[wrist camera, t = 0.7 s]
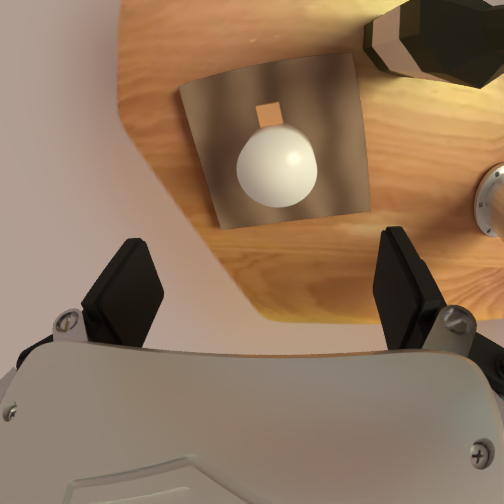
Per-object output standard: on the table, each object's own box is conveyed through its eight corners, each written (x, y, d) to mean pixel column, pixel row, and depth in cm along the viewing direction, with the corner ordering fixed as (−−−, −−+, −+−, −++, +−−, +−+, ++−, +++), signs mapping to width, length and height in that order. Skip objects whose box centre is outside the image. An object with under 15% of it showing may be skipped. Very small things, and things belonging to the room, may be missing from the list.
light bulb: (303, 97, 25) (305, 102, 21) (317, 182, 30) (321, 202, 26) (233, 110, 26) (221, 117, 22) (253, 191, 31) (246, 212, 27)
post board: (348, 53, 26) (359, 49, 21) (367, 204, 37) (377, 227, 32) (183, 84, 31) (164, 88, 26) (224, 223, 41) (214, 246, 36)
